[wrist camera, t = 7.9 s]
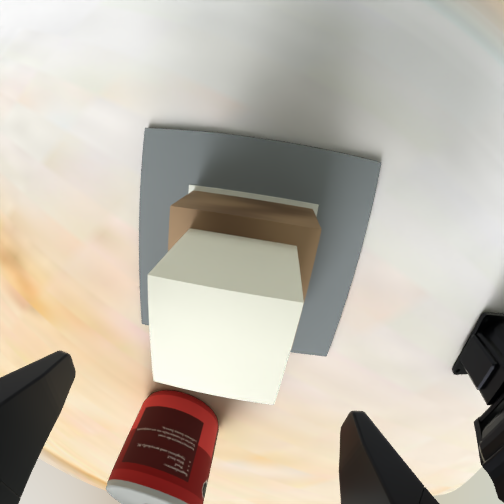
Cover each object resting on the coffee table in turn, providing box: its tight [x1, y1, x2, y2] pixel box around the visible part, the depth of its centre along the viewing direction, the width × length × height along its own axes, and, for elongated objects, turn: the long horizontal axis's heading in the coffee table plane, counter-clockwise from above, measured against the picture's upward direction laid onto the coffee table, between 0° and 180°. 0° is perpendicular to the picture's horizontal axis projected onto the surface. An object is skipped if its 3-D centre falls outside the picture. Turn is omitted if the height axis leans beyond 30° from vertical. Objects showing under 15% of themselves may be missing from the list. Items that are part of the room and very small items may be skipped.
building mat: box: [139, 128, 381, 356], centre depth 19 cm, size 14×14×1 cm
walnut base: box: [168, 190, 322, 349], centre depth 17 cm, size 7×7×4 cm
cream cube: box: [148, 228, 304, 405], centre depth 12 cm, size 5×5×5 cm
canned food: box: [106, 390, 218, 504], centre depth 21 cm, size 8×8×11 cm
